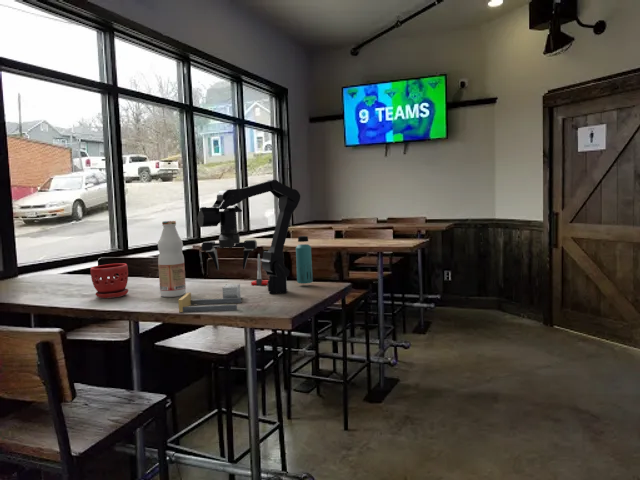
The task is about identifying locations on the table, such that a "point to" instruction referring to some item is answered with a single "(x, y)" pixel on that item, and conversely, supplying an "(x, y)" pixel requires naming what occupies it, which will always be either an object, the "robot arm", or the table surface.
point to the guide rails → (186, 302)
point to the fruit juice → (171, 262)
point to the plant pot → (110, 280)
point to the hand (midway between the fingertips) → (230, 269)
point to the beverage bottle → (304, 261)
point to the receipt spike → (259, 275)
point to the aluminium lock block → (231, 291)
